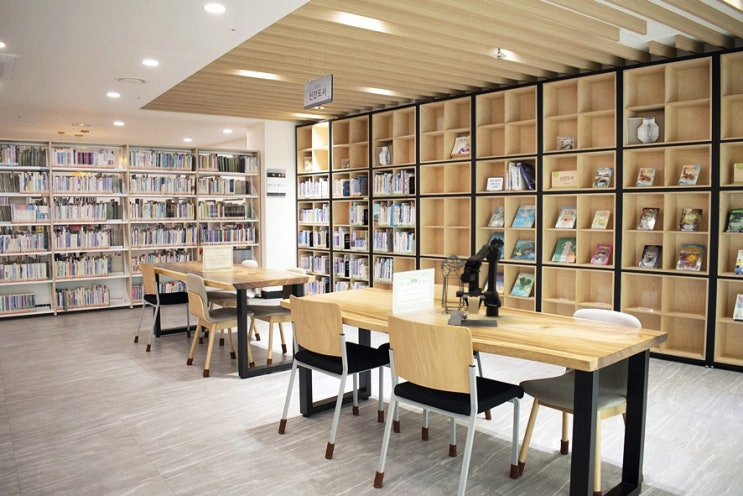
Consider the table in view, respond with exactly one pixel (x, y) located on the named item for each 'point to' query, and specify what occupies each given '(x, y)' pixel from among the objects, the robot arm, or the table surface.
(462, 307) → the geometric lantern
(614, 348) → the table surface
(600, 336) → the table surface
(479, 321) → the jig board
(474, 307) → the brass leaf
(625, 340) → the table surface
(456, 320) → the grey block with knob
